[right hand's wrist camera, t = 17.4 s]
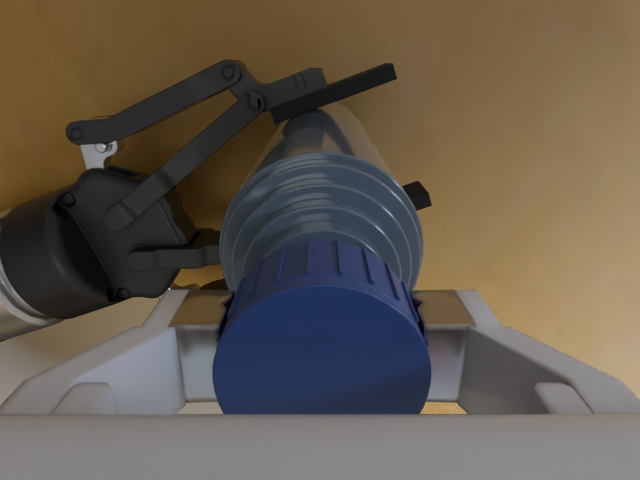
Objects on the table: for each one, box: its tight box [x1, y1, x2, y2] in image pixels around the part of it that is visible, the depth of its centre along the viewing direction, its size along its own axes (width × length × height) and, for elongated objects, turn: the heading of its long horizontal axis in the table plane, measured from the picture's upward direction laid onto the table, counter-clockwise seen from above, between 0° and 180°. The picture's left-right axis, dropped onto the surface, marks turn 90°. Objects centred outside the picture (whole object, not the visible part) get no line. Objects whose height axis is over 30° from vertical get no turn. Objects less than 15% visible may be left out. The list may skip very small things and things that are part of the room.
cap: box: [212, 239, 432, 414], centre depth 9 cm, size 4×4×2 cm
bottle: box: [219, 102, 424, 292], centre depth 20 cm, size 6×6×24 cm
